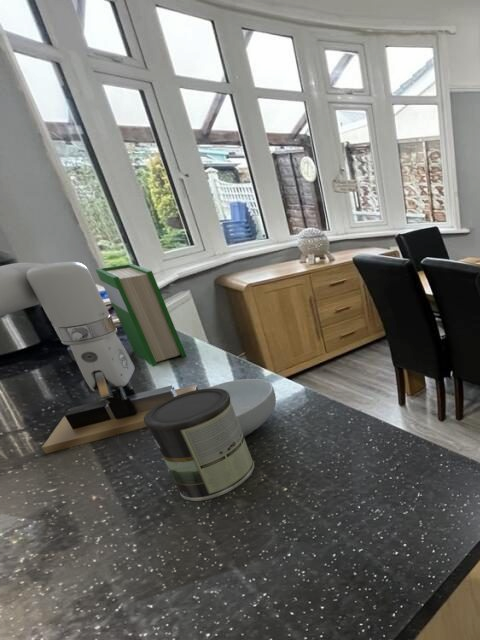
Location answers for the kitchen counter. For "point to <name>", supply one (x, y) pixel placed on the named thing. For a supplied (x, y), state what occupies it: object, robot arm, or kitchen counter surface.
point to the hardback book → (141, 312)
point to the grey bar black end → (103, 412)
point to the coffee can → (201, 443)
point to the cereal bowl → (250, 402)
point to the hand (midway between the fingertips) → (128, 411)
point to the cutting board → (96, 429)
